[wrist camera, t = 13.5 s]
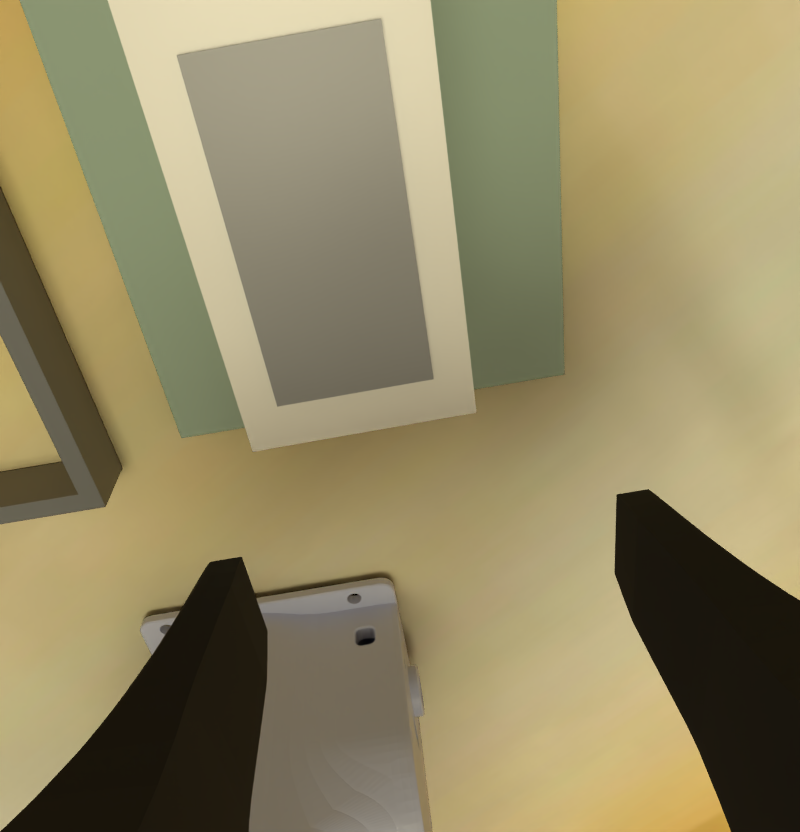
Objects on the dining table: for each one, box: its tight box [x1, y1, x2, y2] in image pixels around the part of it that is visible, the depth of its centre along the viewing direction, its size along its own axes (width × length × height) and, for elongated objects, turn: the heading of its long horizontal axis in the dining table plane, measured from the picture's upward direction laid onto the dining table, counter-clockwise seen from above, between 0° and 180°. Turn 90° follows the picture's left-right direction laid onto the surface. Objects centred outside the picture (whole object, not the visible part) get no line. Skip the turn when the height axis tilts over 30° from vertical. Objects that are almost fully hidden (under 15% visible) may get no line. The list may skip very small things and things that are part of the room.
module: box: [108, 0, 477, 452], centre depth 15 cm, size 4×8×7 cm, turn 9°
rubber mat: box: [20, 0, 565, 438], centre depth 18 cm, size 12×15×1 cm
